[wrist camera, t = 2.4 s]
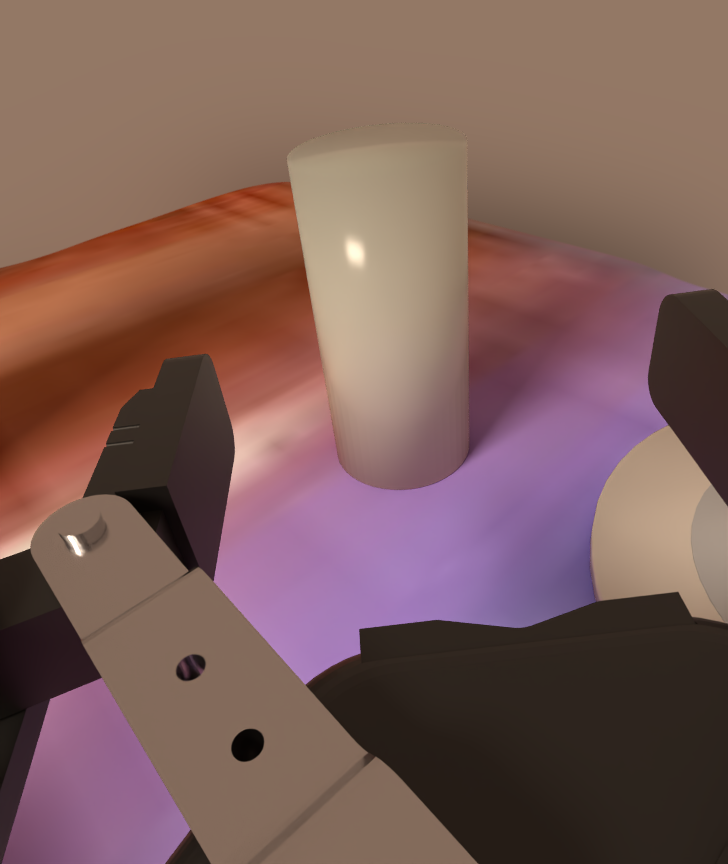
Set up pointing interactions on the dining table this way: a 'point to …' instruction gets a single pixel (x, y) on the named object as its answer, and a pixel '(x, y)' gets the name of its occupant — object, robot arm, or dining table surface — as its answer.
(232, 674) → the robot arm
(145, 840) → the dining table surface
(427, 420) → the white tapered cylinder
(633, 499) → the dish
